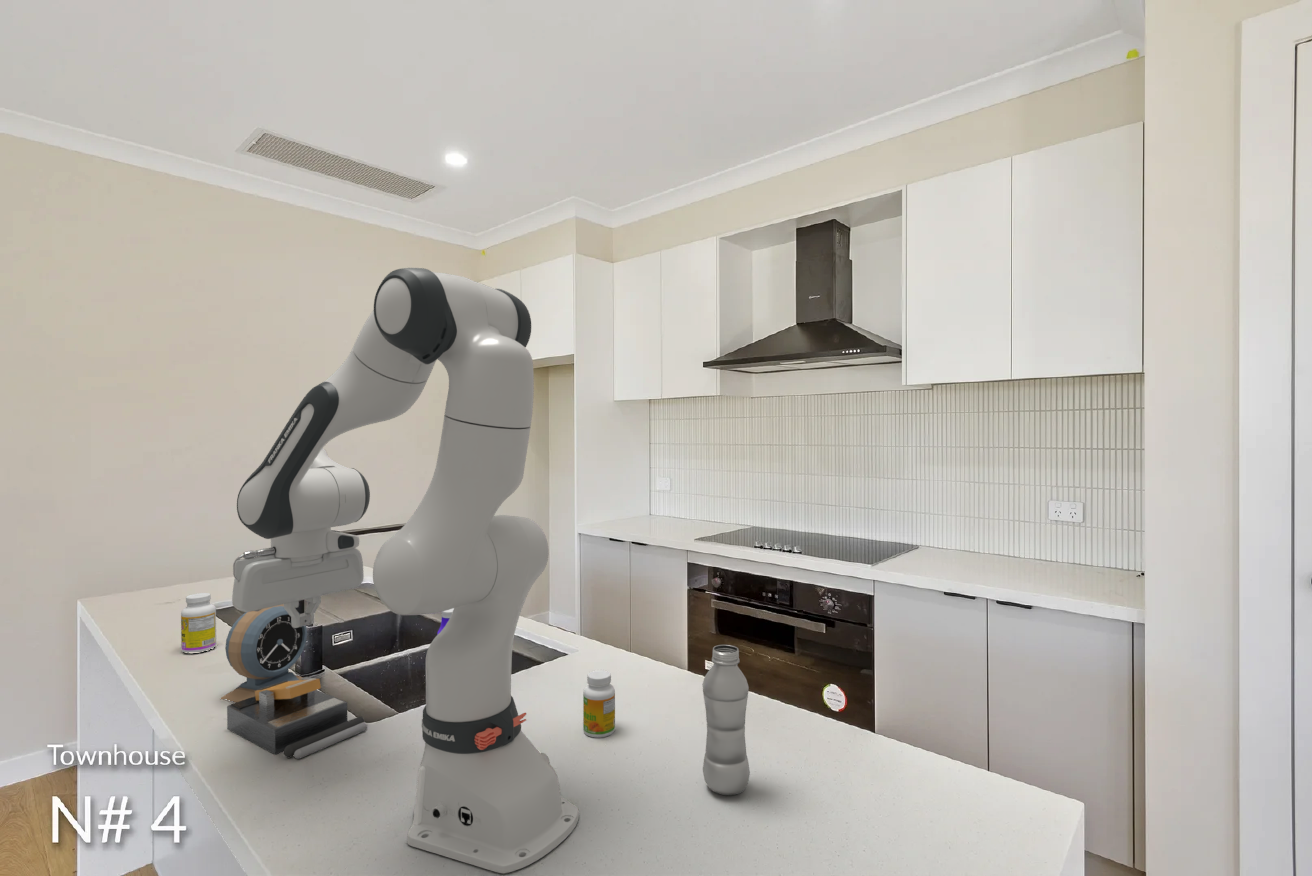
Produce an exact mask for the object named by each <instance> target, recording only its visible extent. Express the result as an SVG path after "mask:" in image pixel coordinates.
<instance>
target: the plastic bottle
mask: <svg viewBox="0 0 1312 876" xmlns="http://www.w3.org/2000/svg"><path fill="white" fill-rule="evenodd" d="M739 657H740V650H739V647H737V646H736V645H731V644H718V645H715V646H713V647H712V657H711V663H712V664H713V665H712V666H711V667H710V668H709V670H708V671H707V673H706V674H705V676H704V677H703V681H702V693H703V694H702V695H703V700H704V701H703V702H704V707H705V715H706V717H705V718H706V719H705V721H706V740H705V741H706V742H705V753H704V757H703V764H702V765H703V766H702V773H703V778H704V782H705V784H706V786H707V787H708V789H709V790H711V791H713V792H714V793H716V794H717V795H718V794H719V795H724V796H735V795H738V794H741V793H743V792H744V790H745V789H746V787H748V785H749V781H750V780H749V779H750V773H751V771H750V764H749V763H750V762H749V758H748V756H747V746H746V713H747V705H748V698H749V688H750V687H749V684H748V680H747V678H746V676H745V675H744V673H743V672H742V670H741V669H740V667H739V666H738V664H740V658H739Z"/></svg>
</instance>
